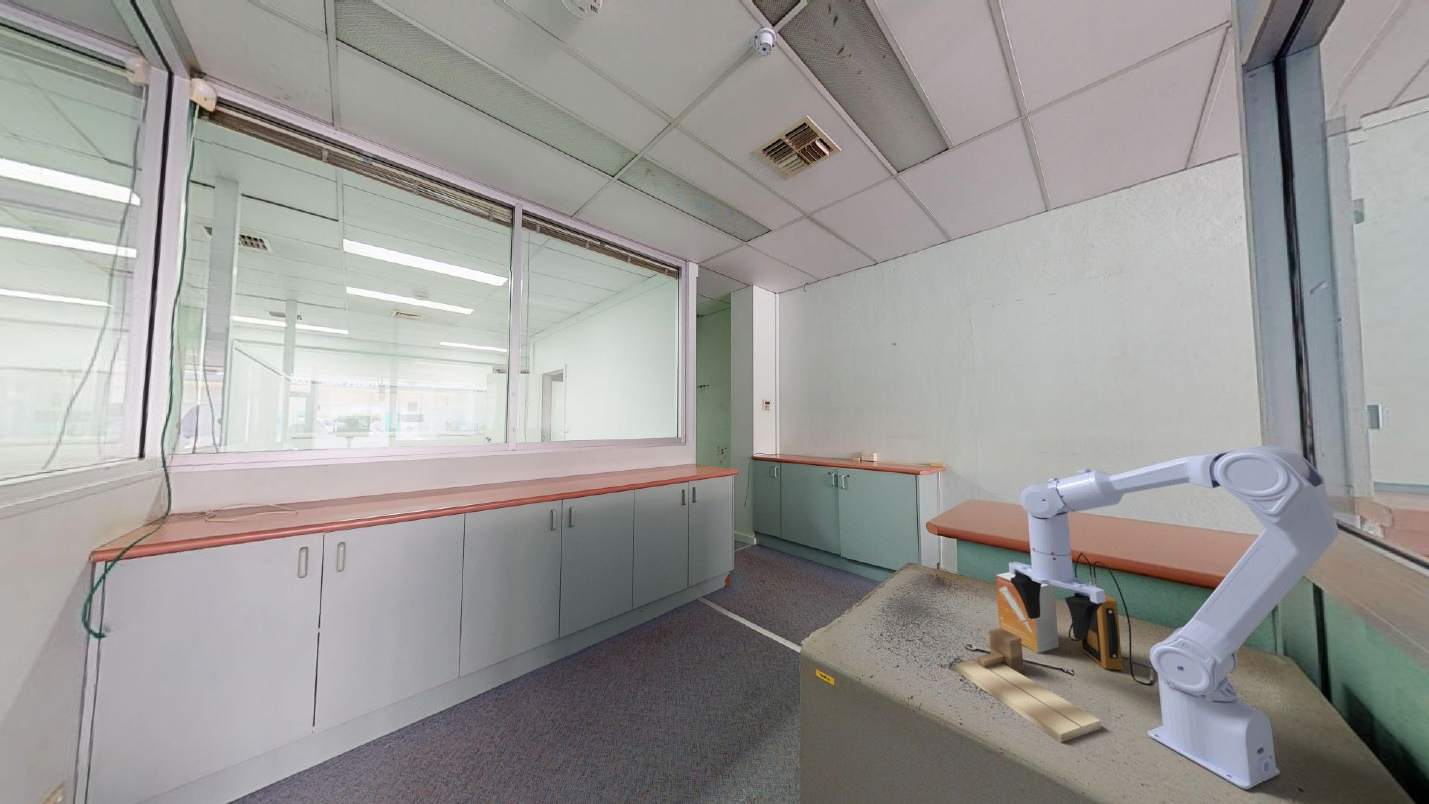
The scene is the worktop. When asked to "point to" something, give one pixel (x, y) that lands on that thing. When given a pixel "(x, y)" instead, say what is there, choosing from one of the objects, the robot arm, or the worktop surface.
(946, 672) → the worktop surface
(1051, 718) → the board
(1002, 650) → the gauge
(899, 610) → the worktop surface
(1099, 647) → the multimeter
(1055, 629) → the small box
